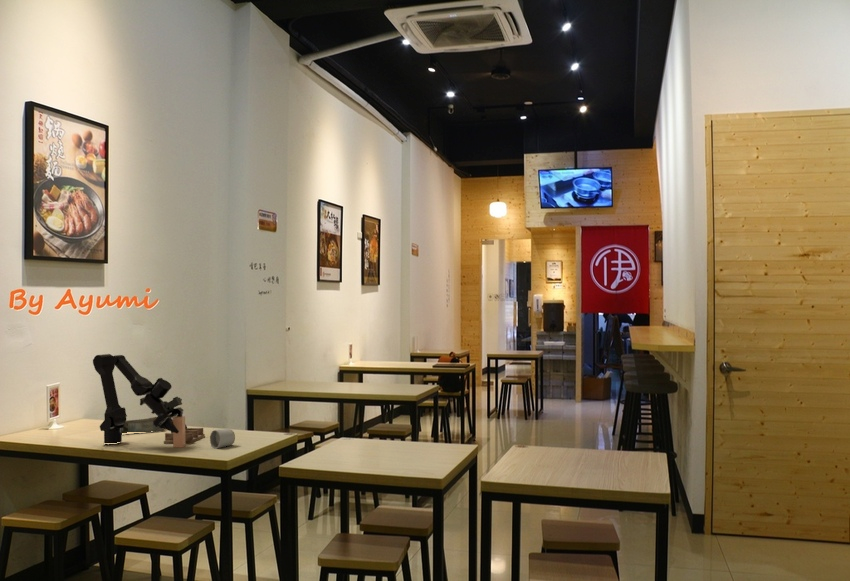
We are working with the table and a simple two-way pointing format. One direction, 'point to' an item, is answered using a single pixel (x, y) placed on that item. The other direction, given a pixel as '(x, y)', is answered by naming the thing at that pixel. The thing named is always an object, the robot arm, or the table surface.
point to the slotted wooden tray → (186, 436)
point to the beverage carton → (140, 426)
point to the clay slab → (180, 436)
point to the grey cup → (222, 438)
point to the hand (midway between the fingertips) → (182, 430)
